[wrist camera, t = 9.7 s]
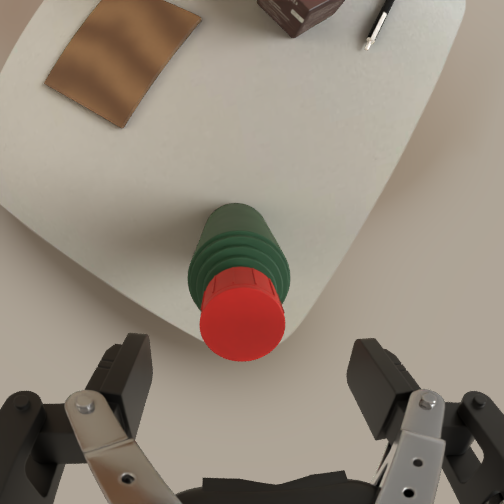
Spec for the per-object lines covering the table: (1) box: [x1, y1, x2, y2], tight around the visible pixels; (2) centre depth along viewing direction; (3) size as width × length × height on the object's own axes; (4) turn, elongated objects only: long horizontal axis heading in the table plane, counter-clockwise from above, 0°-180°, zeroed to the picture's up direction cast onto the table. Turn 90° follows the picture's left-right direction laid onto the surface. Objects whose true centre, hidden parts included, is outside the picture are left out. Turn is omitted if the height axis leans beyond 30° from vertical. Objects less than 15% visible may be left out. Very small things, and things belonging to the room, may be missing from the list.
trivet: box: [44, 0, 202, 128], centre depth 25 cm, size 14×12×1 cm
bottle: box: [188, 203, 290, 311], centre depth 23 cm, size 6×6×18 cm
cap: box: [200, 267, 285, 361], centre depth 16 cm, size 4×4×3 cm
